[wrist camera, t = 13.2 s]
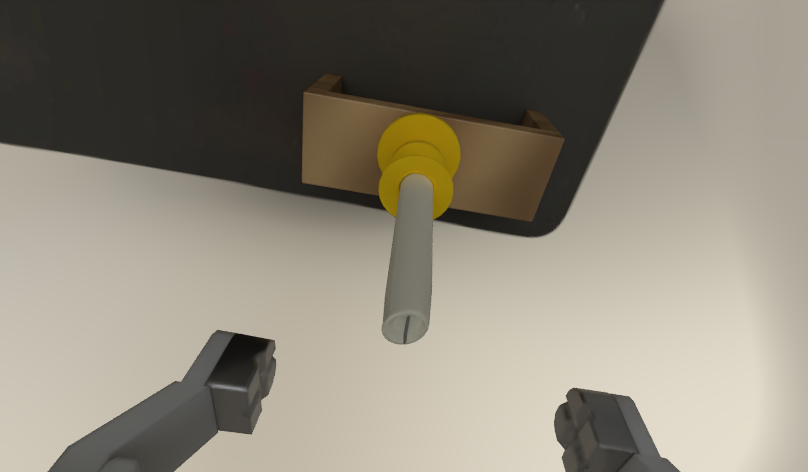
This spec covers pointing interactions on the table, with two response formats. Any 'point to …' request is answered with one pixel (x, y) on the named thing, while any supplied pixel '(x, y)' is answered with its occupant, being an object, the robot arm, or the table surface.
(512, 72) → the table surface
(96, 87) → the table surface
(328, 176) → the shelf
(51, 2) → the table surface
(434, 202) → the candle
